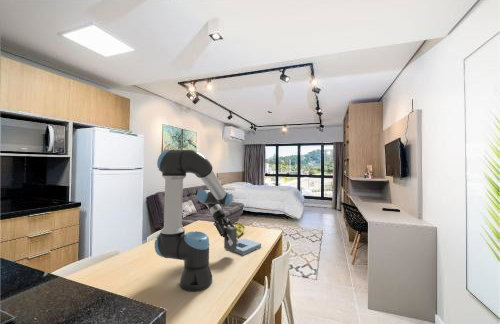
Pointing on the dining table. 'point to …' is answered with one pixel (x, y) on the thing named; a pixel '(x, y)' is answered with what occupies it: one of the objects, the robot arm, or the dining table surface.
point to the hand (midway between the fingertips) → (234, 243)
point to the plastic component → (239, 229)
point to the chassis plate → (246, 246)
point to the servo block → (233, 235)
